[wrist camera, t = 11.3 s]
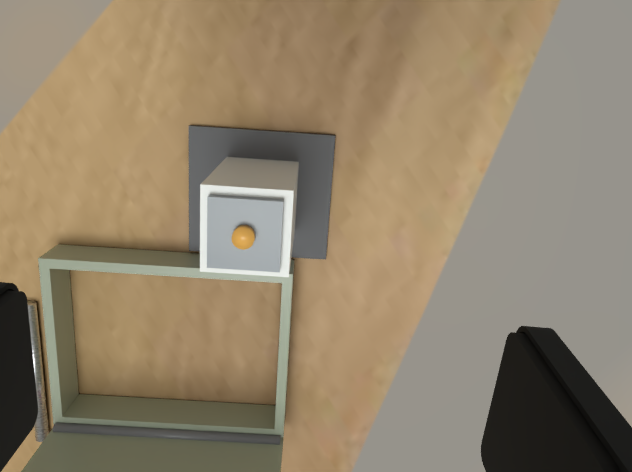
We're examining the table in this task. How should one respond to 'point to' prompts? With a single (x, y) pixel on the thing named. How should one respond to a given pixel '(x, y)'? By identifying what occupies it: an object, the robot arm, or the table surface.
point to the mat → (271, 145)
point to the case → (148, 413)
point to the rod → (38, 374)
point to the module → (248, 217)
